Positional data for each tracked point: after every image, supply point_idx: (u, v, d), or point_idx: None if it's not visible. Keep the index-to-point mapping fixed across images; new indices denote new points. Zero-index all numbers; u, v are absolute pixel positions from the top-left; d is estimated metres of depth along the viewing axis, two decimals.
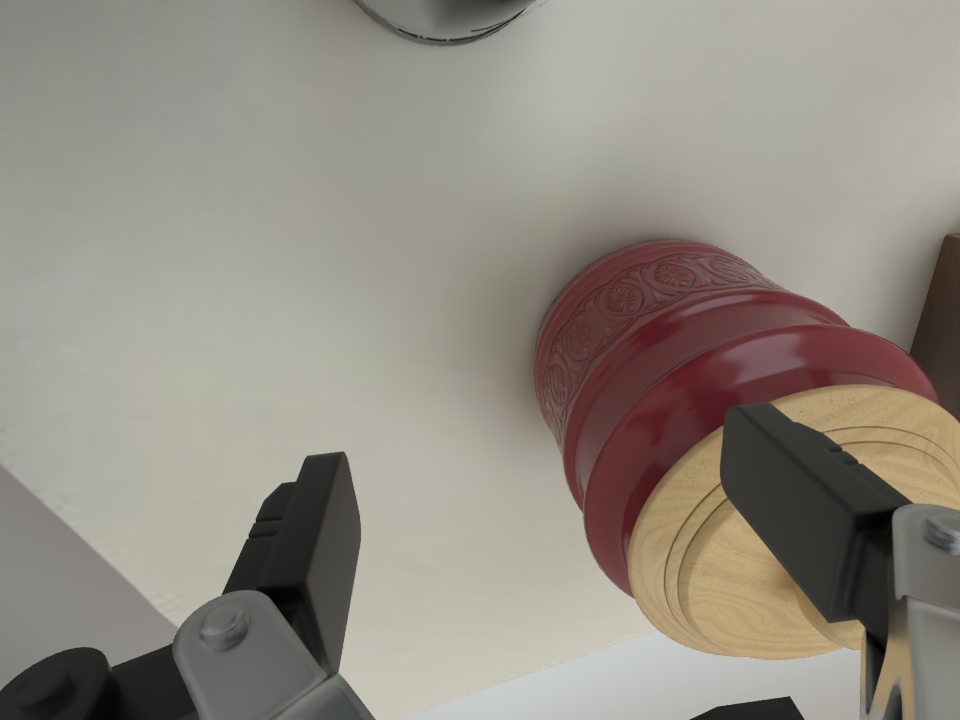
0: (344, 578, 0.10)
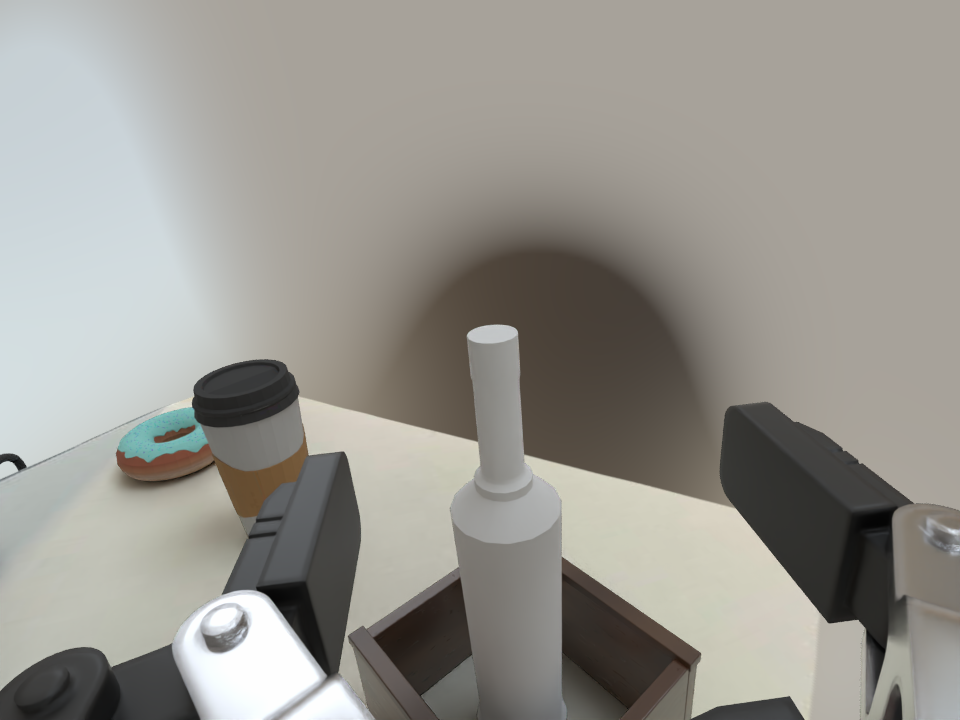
0: (344, 578, 0.10)
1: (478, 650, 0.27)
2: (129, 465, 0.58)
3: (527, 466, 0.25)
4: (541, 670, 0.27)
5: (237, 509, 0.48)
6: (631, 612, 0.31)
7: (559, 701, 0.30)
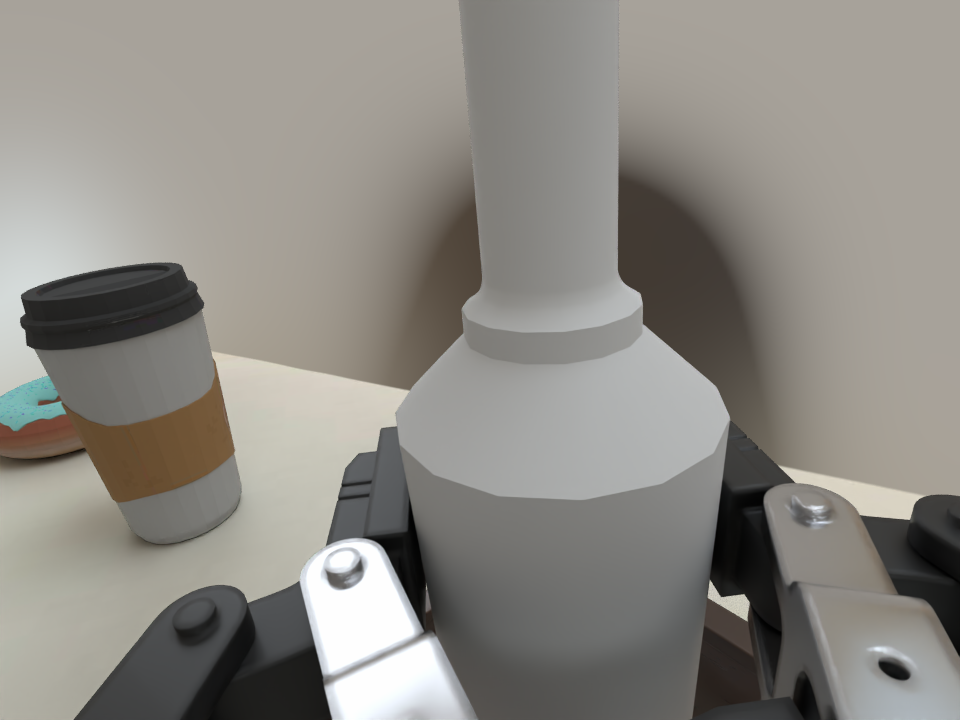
0: None
1: None
2: None
3: None
4: None
5: (109, 490, 0.31)
6: None
7: None
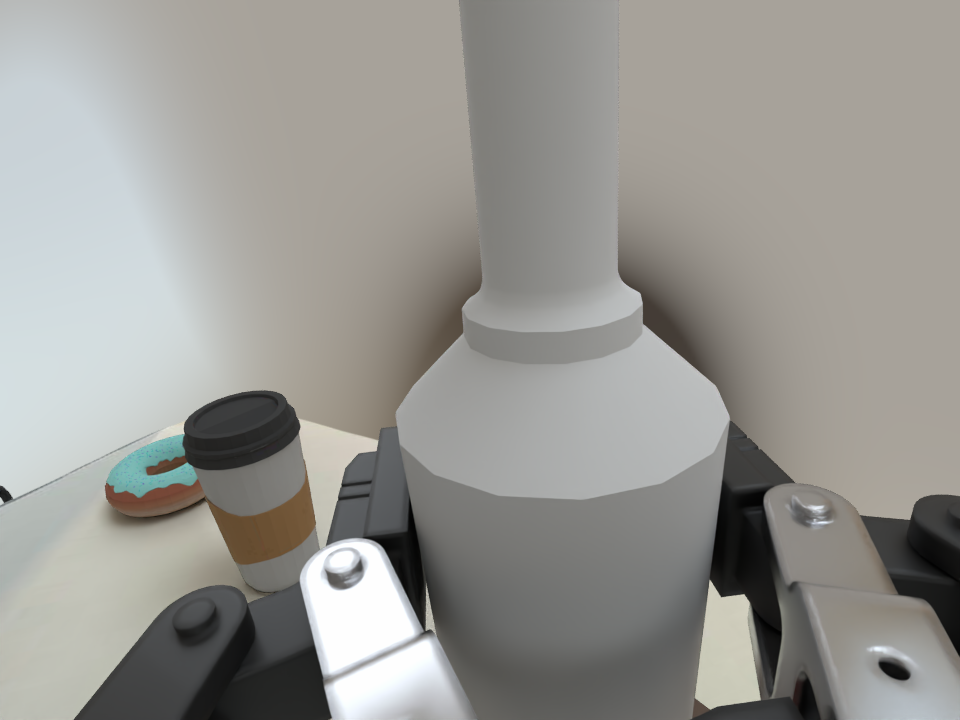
0: None
1: None
2: (118, 500, 0.54)
3: None
4: None
5: (233, 555, 0.43)
6: None
7: None
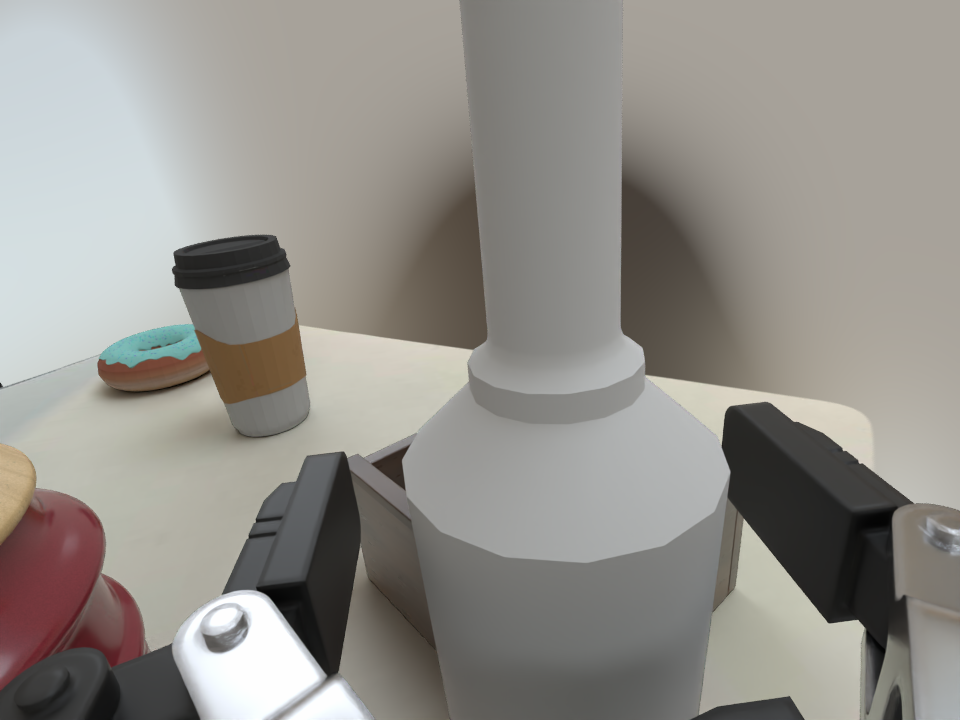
0: (344, 578, 0.10)
1: None
2: (110, 371, 0.54)
3: None
4: None
5: (223, 395, 0.44)
6: None
7: None
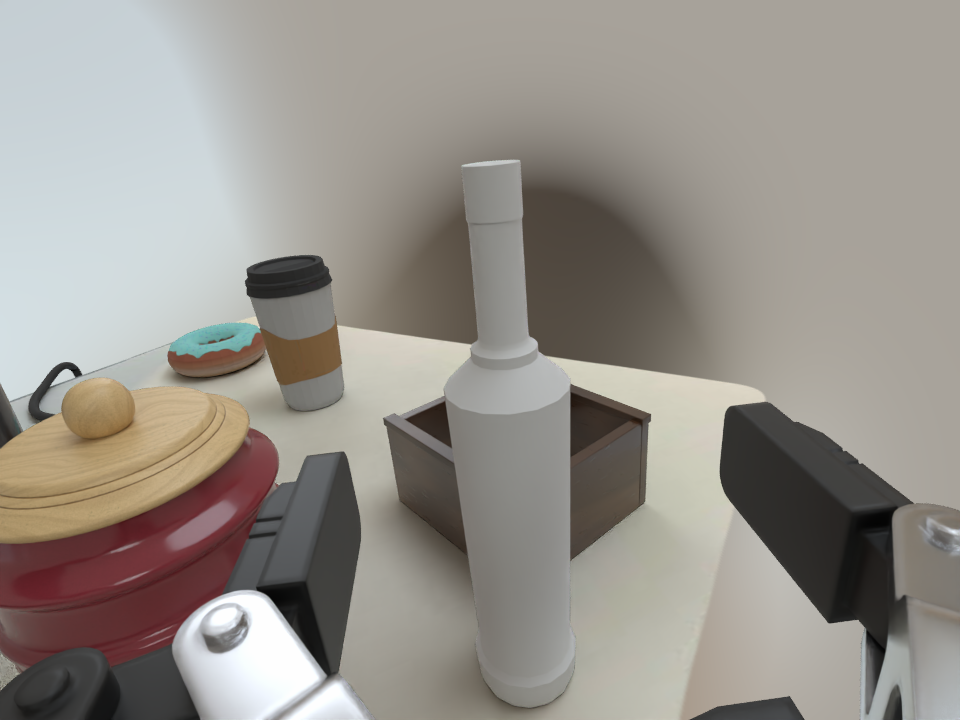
0: (344, 578, 0.10)
1: (476, 557, 0.24)
2: (180, 361, 0.67)
3: (531, 338, 0.22)
4: (548, 579, 0.24)
5: (280, 378, 0.57)
6: (600, 398, 0.40)
7: (567, 623, 0.26)
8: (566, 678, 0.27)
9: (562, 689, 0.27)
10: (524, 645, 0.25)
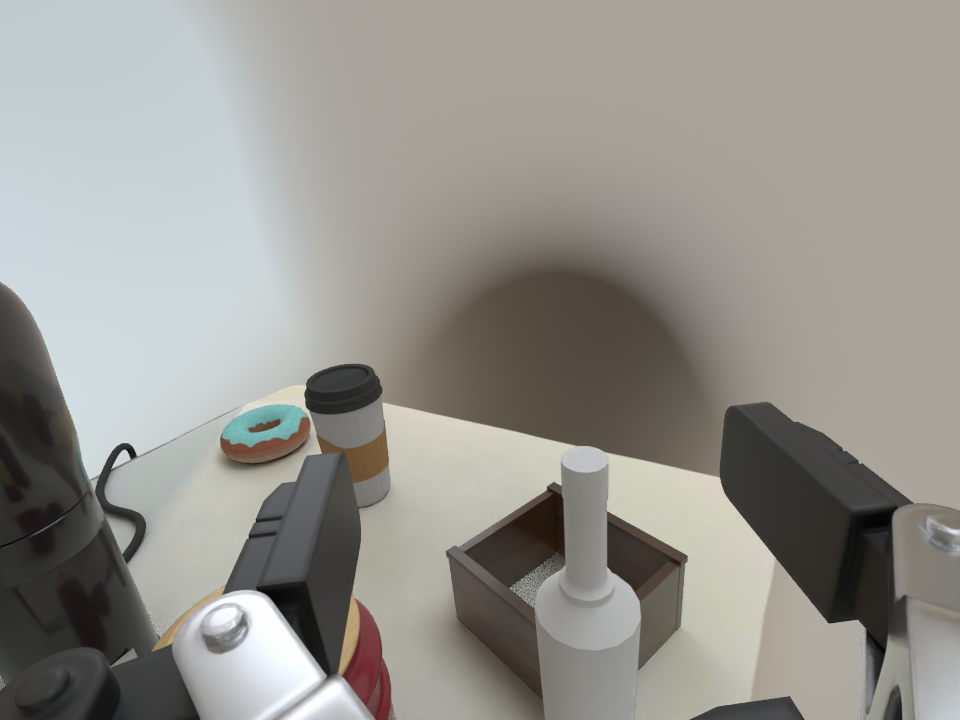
0: (344, 578, 0.10)
1: None
2: (234, 449, 0.72)
3: (608, 570, 0.27)
4: None
5: None
6: (640, 534, 0.45)
7: None
8: None
9: None
10: None
